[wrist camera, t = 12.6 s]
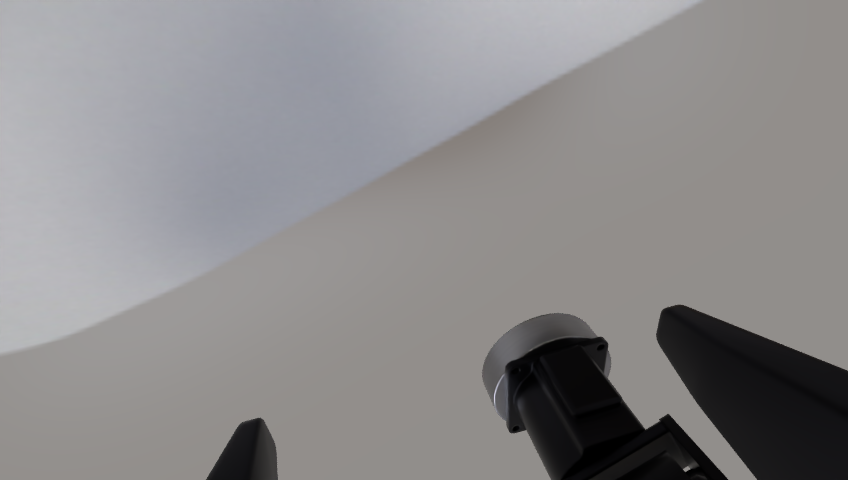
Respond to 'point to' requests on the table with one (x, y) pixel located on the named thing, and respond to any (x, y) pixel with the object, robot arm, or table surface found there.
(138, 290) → the table surface
